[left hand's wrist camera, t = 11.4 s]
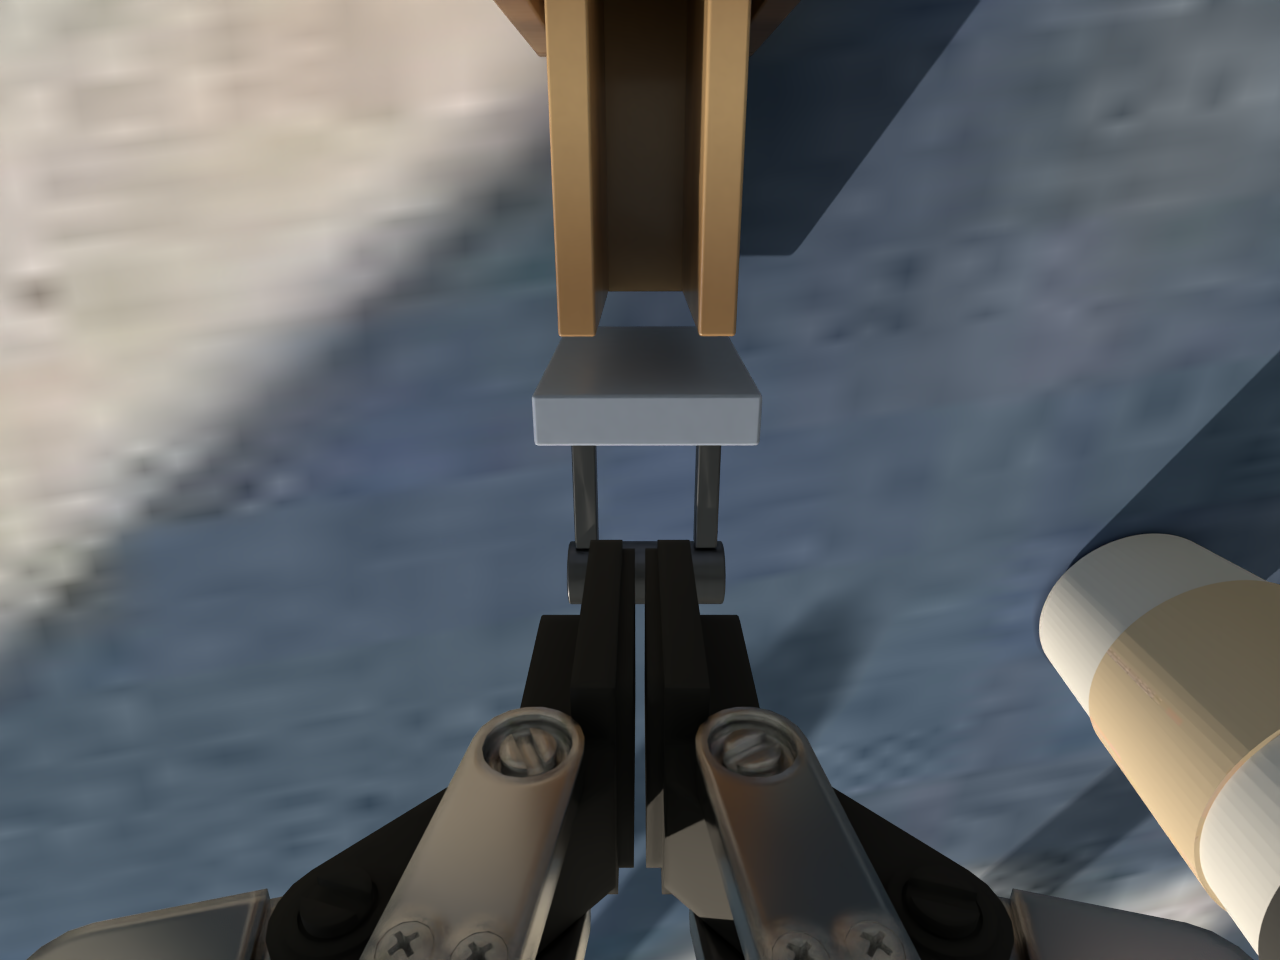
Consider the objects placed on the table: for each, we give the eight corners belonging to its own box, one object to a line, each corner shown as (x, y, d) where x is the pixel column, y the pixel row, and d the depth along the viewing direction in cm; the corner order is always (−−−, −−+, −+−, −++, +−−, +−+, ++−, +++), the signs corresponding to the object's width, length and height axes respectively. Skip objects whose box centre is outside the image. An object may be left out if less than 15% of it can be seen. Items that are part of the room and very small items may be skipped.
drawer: (716, 511, 26) (747, 647, 19) (573, 512, 26) (546, 648, 19) (757, -494, 17) (854, -1057, 9) (534, -494, 17) (446, -1054, 9)
